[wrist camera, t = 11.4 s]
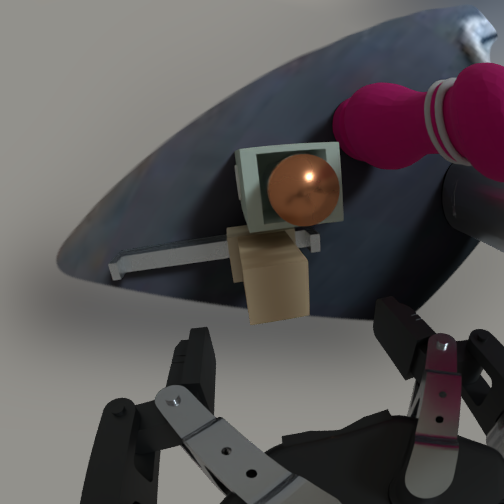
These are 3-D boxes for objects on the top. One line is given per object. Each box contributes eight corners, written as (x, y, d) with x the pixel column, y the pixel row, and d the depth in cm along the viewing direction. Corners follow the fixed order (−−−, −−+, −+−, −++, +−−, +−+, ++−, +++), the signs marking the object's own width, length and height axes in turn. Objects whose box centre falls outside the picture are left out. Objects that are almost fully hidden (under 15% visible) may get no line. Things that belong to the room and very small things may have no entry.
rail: (307, 223, 25) (319, 233, 22) (308, 238, 26) (320, 251, 23) (121, 250, 24) (108, 264, 21) (125, 265, 25) (113, 280, 22)
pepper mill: (312, 110, 22) (508, 47, 3) (370, 82, 21) (551, 37, 2) (350, 179, 24) (548, 250, 6) (403, 146, 24) (585, 176, 5)
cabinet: (303, 144, 23) (338, 141, 15) (308, 200, 25) (343, 220, 17) (232, 151, 23) (236, 149, 15) (239, 208, 24) (246, 233, 17)
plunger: (306, 152, 19) (337, 152, 13) (310, 203, 20) (341, 222, 15) (253, 157, 19) (265, 157, 13) (259, 209, 20) (273, 230, 15)
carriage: (284, 218, 24) (321, 257, 15) (288, 257, 25) (321, 313, 16) (226, 226, 23) (228, 271, 15) (232, 265, 25) (237, 327, 16)
